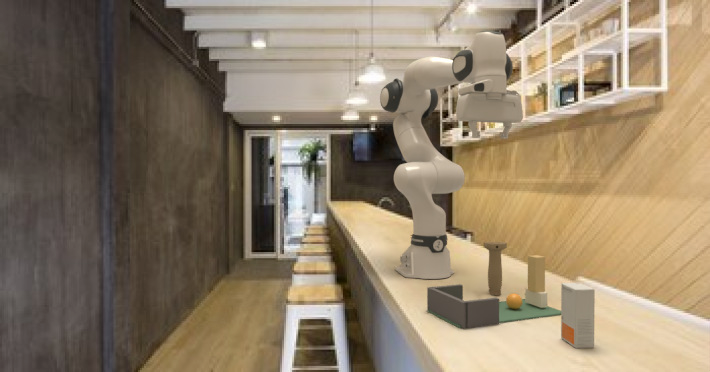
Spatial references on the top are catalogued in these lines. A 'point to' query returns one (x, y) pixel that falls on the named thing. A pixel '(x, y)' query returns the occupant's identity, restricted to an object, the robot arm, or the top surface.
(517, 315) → the pitch
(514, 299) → the ball
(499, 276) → the handle
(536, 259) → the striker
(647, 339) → the top surface
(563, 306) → the skincare box
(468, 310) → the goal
